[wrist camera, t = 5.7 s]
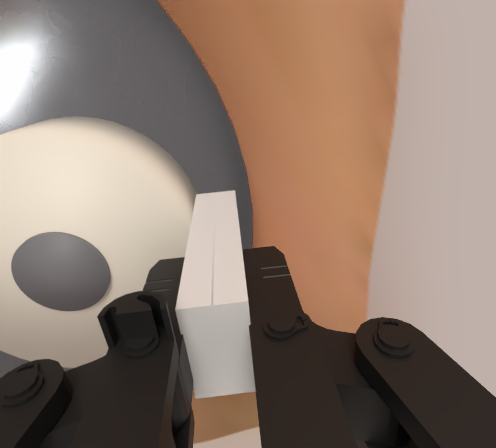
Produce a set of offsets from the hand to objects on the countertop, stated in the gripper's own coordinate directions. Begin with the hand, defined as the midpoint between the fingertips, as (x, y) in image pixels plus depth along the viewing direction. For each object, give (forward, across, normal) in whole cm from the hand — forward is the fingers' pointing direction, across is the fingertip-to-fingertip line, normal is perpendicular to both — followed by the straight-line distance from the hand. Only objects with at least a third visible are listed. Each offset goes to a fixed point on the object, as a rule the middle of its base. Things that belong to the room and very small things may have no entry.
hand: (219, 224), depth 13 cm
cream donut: (+1, -5, 0) cm, 5 cm away
